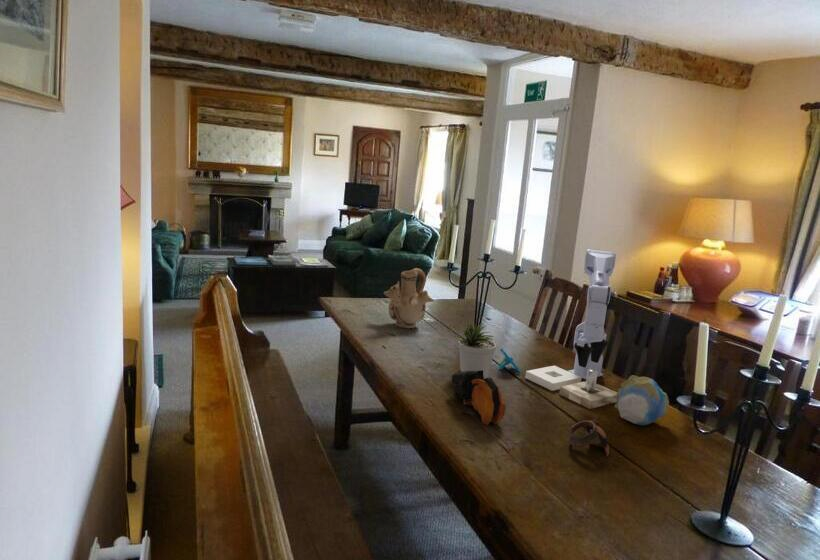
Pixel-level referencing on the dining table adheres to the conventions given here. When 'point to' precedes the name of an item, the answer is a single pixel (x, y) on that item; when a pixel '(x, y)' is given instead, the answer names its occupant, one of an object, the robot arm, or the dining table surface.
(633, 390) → the decorative rock
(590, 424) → the pottery mug
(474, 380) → the tool
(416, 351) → the dining table surface
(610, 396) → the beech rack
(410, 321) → the ceramic vessel
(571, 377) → the socket block
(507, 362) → the blue irregular piece
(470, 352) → the potted plant
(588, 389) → the steel peg
